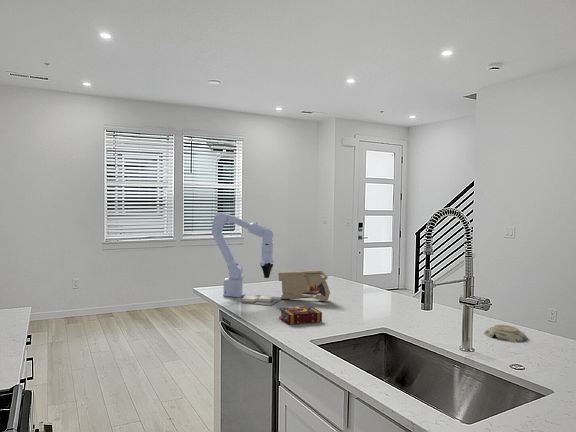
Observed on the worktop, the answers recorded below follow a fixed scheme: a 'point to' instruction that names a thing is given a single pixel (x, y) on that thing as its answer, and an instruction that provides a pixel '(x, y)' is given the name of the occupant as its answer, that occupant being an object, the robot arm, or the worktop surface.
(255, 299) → the flat tile
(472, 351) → the worktop surface
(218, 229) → the robot arm
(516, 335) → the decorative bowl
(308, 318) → the decorative book
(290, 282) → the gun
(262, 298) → the tile
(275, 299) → the mat
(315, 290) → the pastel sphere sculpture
